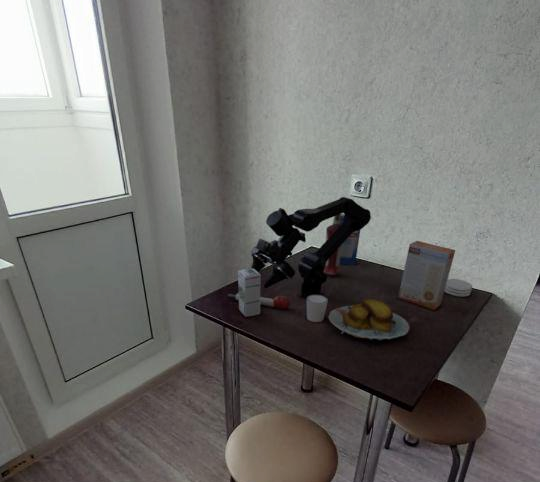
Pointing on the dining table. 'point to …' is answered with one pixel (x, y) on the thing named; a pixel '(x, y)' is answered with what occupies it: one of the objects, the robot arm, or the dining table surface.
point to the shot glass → (316, 308)
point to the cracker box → (426, 274)
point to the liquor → (334, 260)
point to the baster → (270, 301)
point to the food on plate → (369, 320)
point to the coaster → (458, 288)
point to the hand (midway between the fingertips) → (256, 282)
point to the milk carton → (349, 247)
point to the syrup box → (249, 291)
